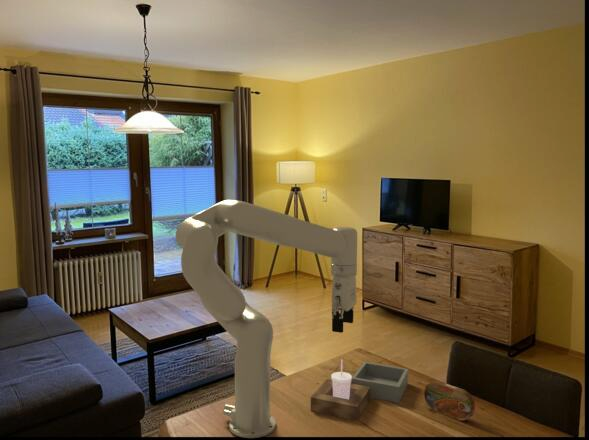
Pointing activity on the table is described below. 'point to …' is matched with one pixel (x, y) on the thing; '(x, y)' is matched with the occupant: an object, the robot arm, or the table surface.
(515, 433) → the table surface
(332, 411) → the holder block
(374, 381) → the tray
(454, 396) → the tin
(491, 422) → the table surface
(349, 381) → the beverage cup
